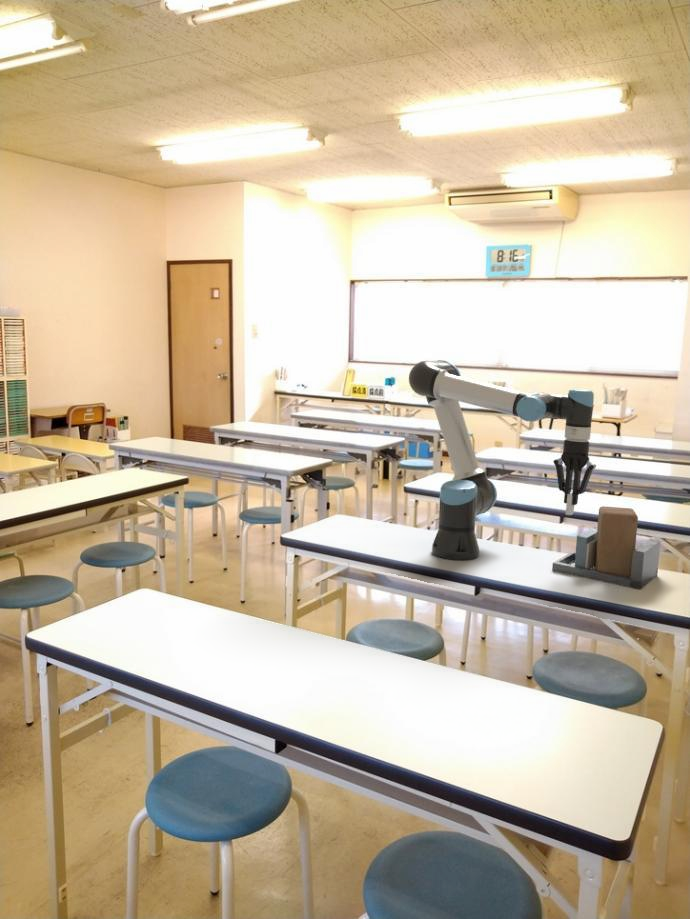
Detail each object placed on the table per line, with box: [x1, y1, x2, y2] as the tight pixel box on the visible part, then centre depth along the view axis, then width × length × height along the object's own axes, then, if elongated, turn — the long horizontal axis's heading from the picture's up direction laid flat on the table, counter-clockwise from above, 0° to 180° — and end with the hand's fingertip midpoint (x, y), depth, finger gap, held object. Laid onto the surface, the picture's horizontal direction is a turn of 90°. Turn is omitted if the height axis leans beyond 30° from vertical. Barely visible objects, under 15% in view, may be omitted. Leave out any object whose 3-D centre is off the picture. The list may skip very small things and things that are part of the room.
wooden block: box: [593, 505, 639, 577], centre depth 214 cm, size 10×10×20 cm
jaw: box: [574, 528, 597, 569], centre depth 220 cm, size 4×11×11 cm, turn 142°
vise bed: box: [551, 538, 662, 591], centre depth 217 cm, size 26×17×11 cm, turn 52°
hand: (569, 514), depth 225 cm, fingers closed
